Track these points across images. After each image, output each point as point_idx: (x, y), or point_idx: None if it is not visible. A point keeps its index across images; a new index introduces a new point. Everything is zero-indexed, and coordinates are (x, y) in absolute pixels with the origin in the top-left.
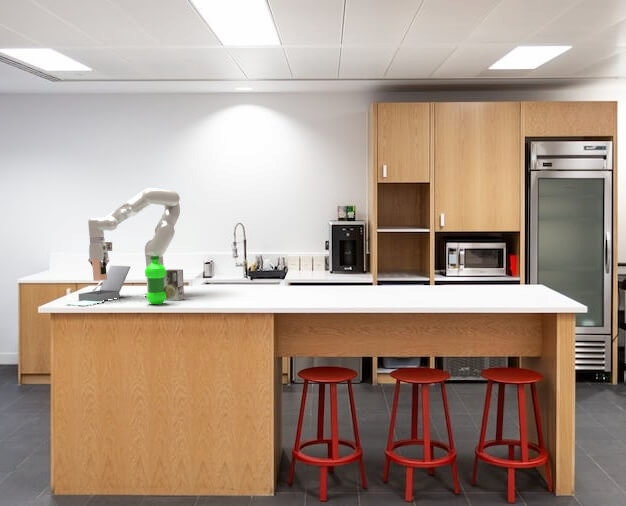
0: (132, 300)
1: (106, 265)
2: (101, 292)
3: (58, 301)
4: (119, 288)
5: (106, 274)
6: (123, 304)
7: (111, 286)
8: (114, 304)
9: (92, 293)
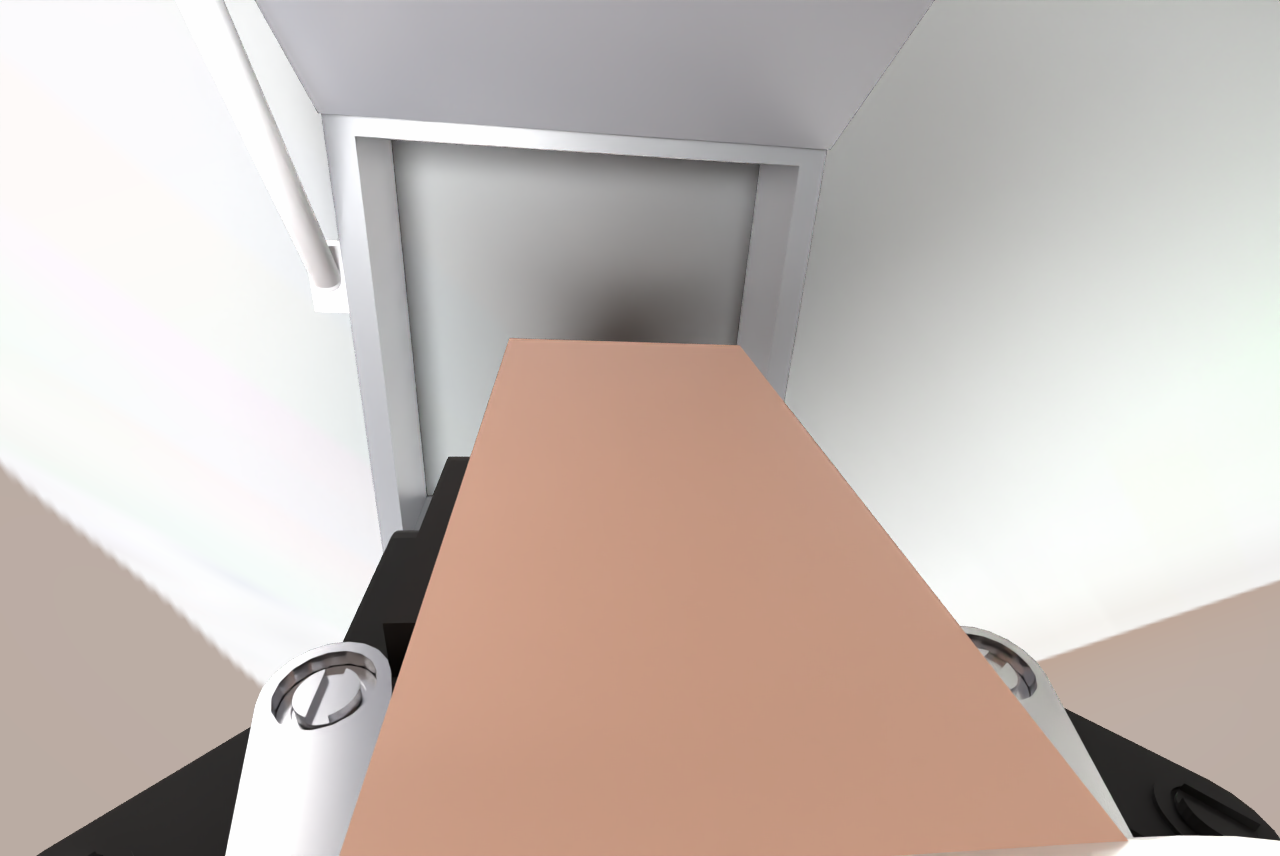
0: (1051, 232)
1: (1032, 663)
2: (401, 139)
3: (186, 609)
4: (841, 112)
5: (774, 400)
6: (1070, 499)
7: (609, 65)
8: (978, 530)
9: (385, 325)
